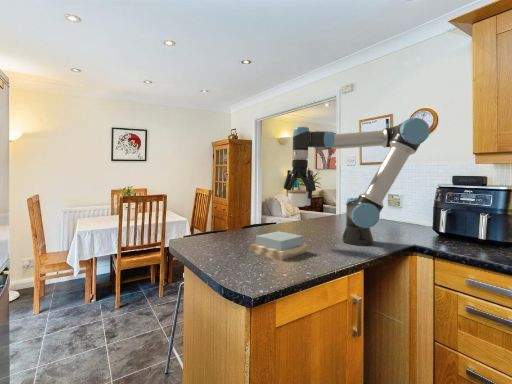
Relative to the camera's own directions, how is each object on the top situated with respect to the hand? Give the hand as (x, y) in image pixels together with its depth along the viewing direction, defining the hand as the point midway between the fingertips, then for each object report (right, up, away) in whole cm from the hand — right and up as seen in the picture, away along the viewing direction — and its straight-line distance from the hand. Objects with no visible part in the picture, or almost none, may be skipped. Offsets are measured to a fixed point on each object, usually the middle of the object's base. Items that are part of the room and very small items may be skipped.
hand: (298, 204), depth 135 cm
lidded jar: (0, -1, 0) cm, 1 cm away
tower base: (-11, -22, -11) cm, 27 cm away
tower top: (-10, -18, -11) cm, 23 cm away
